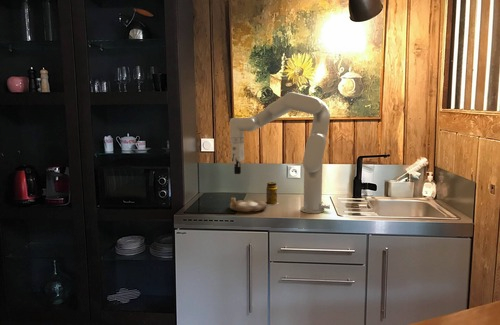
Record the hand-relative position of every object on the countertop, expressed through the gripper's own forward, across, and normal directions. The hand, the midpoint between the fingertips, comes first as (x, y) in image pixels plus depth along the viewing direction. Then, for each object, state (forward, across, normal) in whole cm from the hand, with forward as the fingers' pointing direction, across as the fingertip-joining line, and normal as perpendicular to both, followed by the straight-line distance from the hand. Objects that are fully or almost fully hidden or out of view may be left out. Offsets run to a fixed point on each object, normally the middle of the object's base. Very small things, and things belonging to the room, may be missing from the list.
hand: (237, 173), depth 231 cm
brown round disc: (+18, -3, -7) cm, 19 cm away
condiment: (+19, +14, -15) cm, 28 cm away
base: (+19, -3, -7) cm, 20 cm away
